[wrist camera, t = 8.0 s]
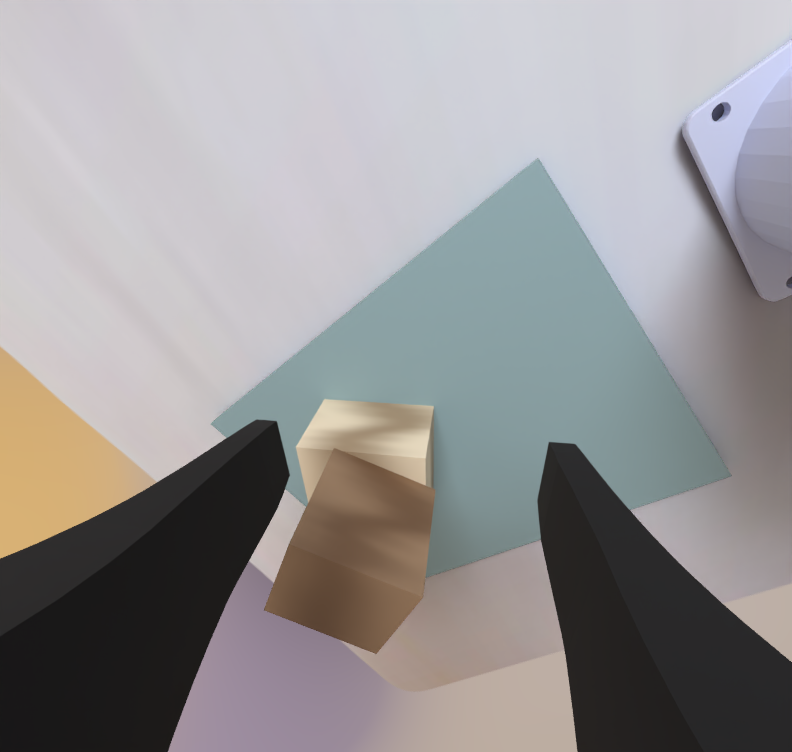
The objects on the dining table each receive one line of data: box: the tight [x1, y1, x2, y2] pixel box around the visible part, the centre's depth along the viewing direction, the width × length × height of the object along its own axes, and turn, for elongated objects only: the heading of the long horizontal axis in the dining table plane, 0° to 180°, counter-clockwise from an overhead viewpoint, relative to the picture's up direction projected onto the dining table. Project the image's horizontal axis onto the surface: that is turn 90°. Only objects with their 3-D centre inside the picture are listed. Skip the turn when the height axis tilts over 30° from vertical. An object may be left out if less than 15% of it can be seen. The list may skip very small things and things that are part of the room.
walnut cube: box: [264, 448, 435, 654], centre depth 17 cm, size 5×5×5 cm
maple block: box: [296, 399, 434, 502], centre depth 21 cm, size 6×6×4 cm
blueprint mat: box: [211, 158, 732, 578], centre depth 22 cm, size 22×18×1 cm
